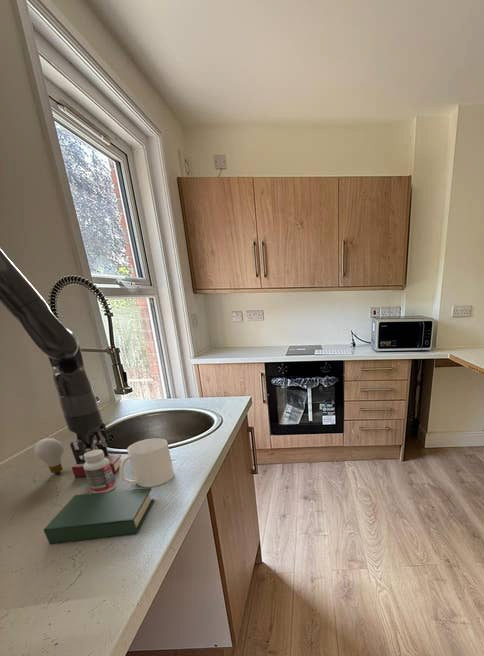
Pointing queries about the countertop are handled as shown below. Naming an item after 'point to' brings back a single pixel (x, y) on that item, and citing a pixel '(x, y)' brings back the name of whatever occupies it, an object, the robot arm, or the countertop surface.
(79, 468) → the pocket book
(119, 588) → the countertop surface
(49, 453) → the light bulb
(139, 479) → the mug
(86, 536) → the hardback
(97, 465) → the pill bottle
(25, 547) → the countertop surface
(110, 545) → the countertop surface
